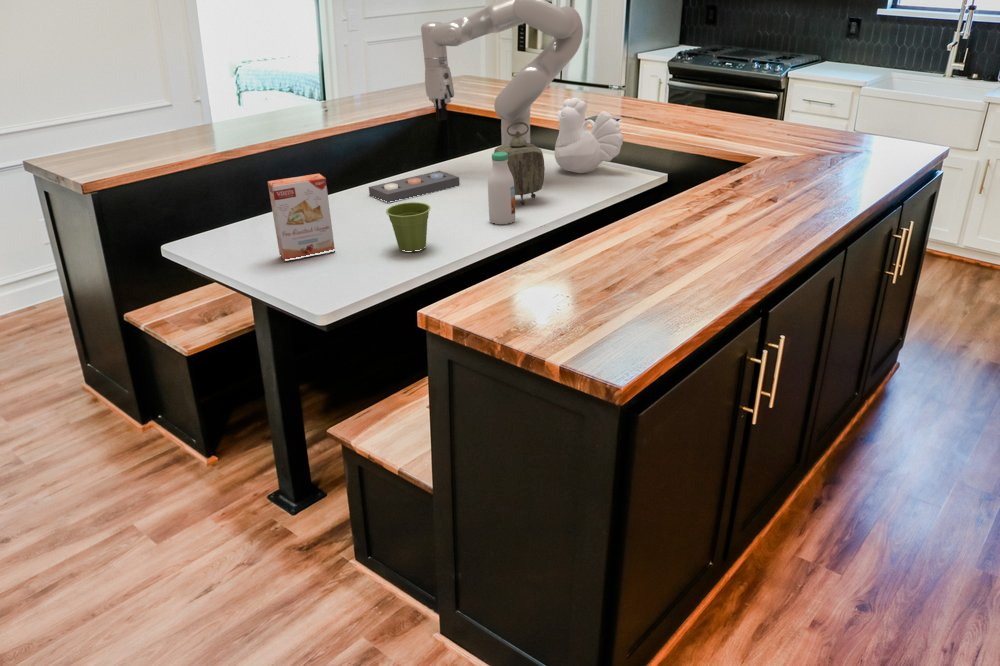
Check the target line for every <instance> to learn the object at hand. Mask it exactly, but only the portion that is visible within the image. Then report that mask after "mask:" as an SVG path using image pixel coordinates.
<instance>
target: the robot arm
mask: <svg viewBox="0 0 1000 666" xmlns="http://www.w3.org/2000/svg"><path fill="white" fill-rule="evenodd" d="M524 24H526V26H527V25H528V26H529V27H531V28H533V29H535V30H537V31H539V32H541V33H543V34H545V35H548V36H550V37H552V40H551V41H550V42H549V43H548V44H547V46H545V47H544V48H543V50H542V51H541V52H540V53H539V54H538V55H537V56H536V57H535V58H534V59H533V60H532V61H531V62H529V63H527V64H526V65H525V66H524V67H523V68H521V69H520V71H519V72H518V73H516V75H515V76H514V77H513V78H512V79H511V80H510V82H509V83H507V84H506V85H505V87H504V88H503V89H502V90H501V91H500V92H499V93H498V94H497V96H496V97H495V99H494V111H495V114H496V115H497V117H498V118H499V119H501V121H500V122H501V123H500V124H501V125H500V129H501V132H500V133H501V146H502V145H506V144H510V142H511V140H512V139H513V138H515V137H516V136H510V135H509V134H508V133H507V128H508V126H509V125H510V124H512V123H514V122H524V123H526V124H527V125H528V127H529V130H528V132H527V133H526V134H524V135H522V136H520V137H522V138H524V139H525V140H526V143H530V144H531V108H532V105H533V103H534V102H536V100H537V99H538V98H539V97H540V96H541V95H542V94H543V93H544V92H545V91H546V90H547V88H549V87H550V84H551V83H552V81H554V79H555V78H556V77H557V76H558V75H559V74H560V73H561V72H562V71H563V70H564V68H565V67H566V66H567V65H568V64H569V63H570V61H572V59H573V58H574V57H575V55H576V54H577V53H578V51H579V48H580V46H581V43H582V41H583V34H584V27H583V21H582V18H581V16H580V14H579V12H578V11H577V10H576V9H575V8H574V7H572V6H562V7H559V6H557V5H556V4H554V3H551V2H549V1H548V0H499V1H497V2H494V3H491V4H489V5H488V6H487V7H485V8H483V9H481V10H478V11H476V12H474V13H471V14H469V15H468V14H467V15H465V16H462V17H459V18H456V19H454V20H452V21H447V22H440V21H431V22H424V23H422V25H421V27H420V32H421V41H422V51H423V60H424V85H425V87H424V88H425V93H426V96H427V97H428V101H430V102H432V103H433V107H434V110H435V116H436V117H435V119H436V121H439V122H440V121H446V120H447V119H448V115H447V107H448V104H450V103H451V102H452V99H451V98H454V96H455V91H454V90H455V89H454V82H453V76H452V72H451V68H450V67H449V65H448V64H449V63H448V53H447V50H448V49H447V47H458V46H460V45H463V44H464V43H468V42H469V41H473V40H475V39H478V38H481V37H483V36H486V35H489V34H490V35H491V34H493V33H496V34H497V33H500V32H504V31H507V30H509V29H513V28H515V27H518V26H520V25H524ZM517 131H519V132H520V134H521V133H524V132H526V131H527V126H525V125H523V124H516V125H513V126H511V127H510V128H509V129H508V132H509V133H511V134H516V132H517Z"/></svg>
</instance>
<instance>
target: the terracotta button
mask: <svg viewBox="0 0 1000 666" xmlns="http://www.w3.org/2000/svg"><path fill="white" fill-rule="evenodd" d="M418 183H421V179H420V178H411V179H408V184H411V185H414V184H418Z"/></svg>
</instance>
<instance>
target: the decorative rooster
mask: <svg viewBox="0 0 1000 666" xmlns="http://www.w3.org/2000/svg"><path fill="white" fill-rule="evenodd" d="M562 104H563V105H562V109H560V110H558V111H557V116H558V117H557V118H558V130H559V131H558V136H557V137H556V142H555V144H554V145H555V147H554V159H555V161H556V163H557V165H558V166H559V167H560V168H561V169H562V170H564V171H567V172H572V173H577V174H587V173H592V172H593V171H594V170H595V169H597V167H599V166H600V165H601V164H602V163H603V162H611V161H612V160H613V159H614V158H616V157H618V155H619V154H620V152H621V149H622V146H623V144H624V143H623V141H624V135H623V133H621V130H622V129H621V127H620V123H619V122H618V121H617V120H616V119H614V118H613V115H612V113H609V112H608V111H605V110H602V111H601V112H600V113H599V114H598V115H597V117H596V119H595V121H594V120H593V119H590V118H589V119H586V115H585V112H586V111H587V108H588V105H587V102H586V101H584V100H581V99H580V98H578V97H571V98H565V99H564V100H563V103H562ZM589 124H590V125H591V129H589V128H588V125H589Z"/></svg>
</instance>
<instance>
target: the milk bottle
mask: <svg viewBox="0 0 1000 666" xmlns="http://www.w3.org/2000/svg"><path fill="white" fill-rule="evenodd" d="M507 161H508V153H506V152H496V153H494V152H493V153H491V162H492V168H491V170H490V173H489V175H488V176H489V177H488V180H487V197H488V200H487V202H488V213H489V214H488V219H489V222H490V223H491V224H493V223H495V224H494V225H497V224H506V225H509V224H508V223H510V224H513V223H515V221H516V195H515V189H514V180H513V176H512V174H511V172H510V170H509V167H508V164H507ZM512 222H513V223H512Z"/></svg>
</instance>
